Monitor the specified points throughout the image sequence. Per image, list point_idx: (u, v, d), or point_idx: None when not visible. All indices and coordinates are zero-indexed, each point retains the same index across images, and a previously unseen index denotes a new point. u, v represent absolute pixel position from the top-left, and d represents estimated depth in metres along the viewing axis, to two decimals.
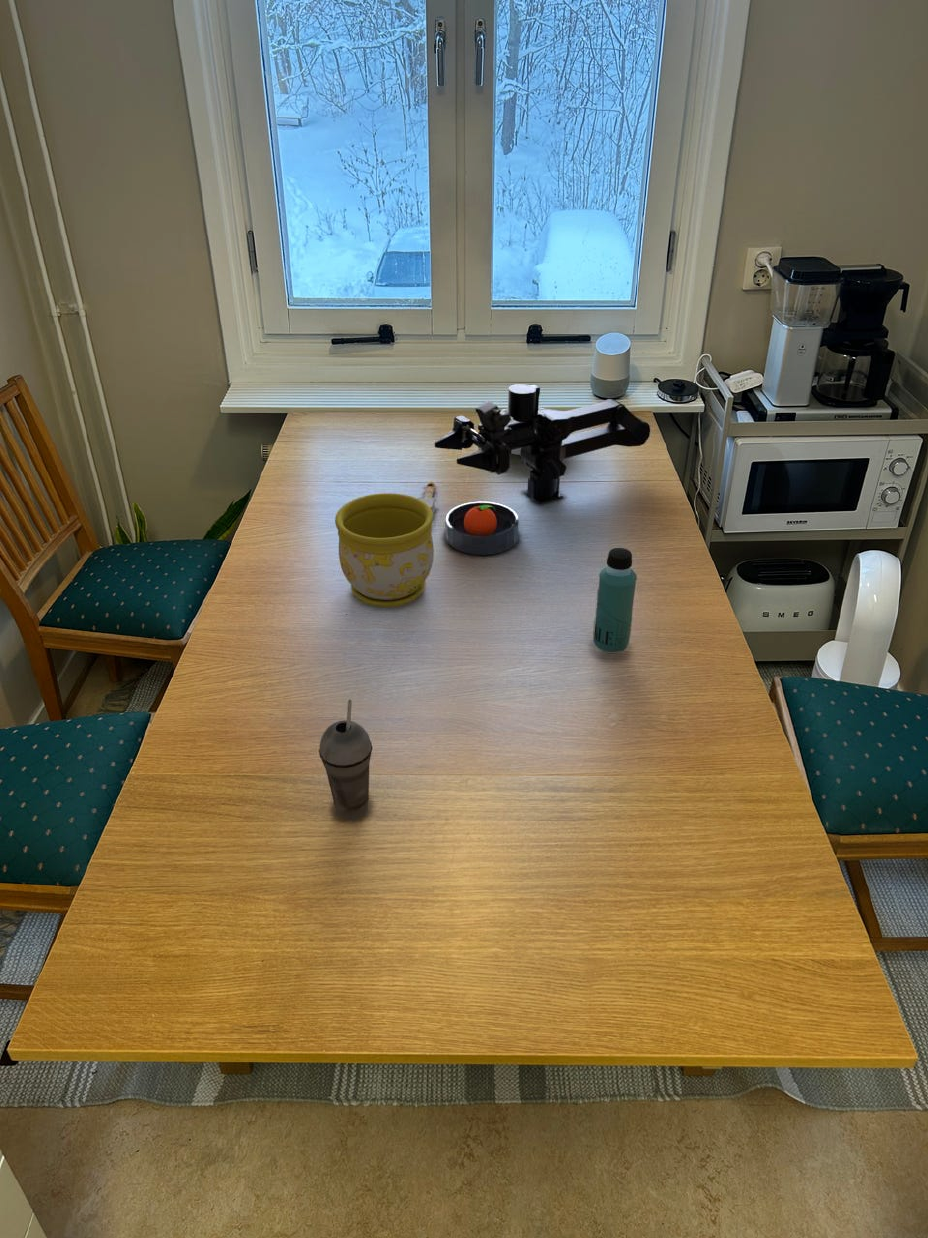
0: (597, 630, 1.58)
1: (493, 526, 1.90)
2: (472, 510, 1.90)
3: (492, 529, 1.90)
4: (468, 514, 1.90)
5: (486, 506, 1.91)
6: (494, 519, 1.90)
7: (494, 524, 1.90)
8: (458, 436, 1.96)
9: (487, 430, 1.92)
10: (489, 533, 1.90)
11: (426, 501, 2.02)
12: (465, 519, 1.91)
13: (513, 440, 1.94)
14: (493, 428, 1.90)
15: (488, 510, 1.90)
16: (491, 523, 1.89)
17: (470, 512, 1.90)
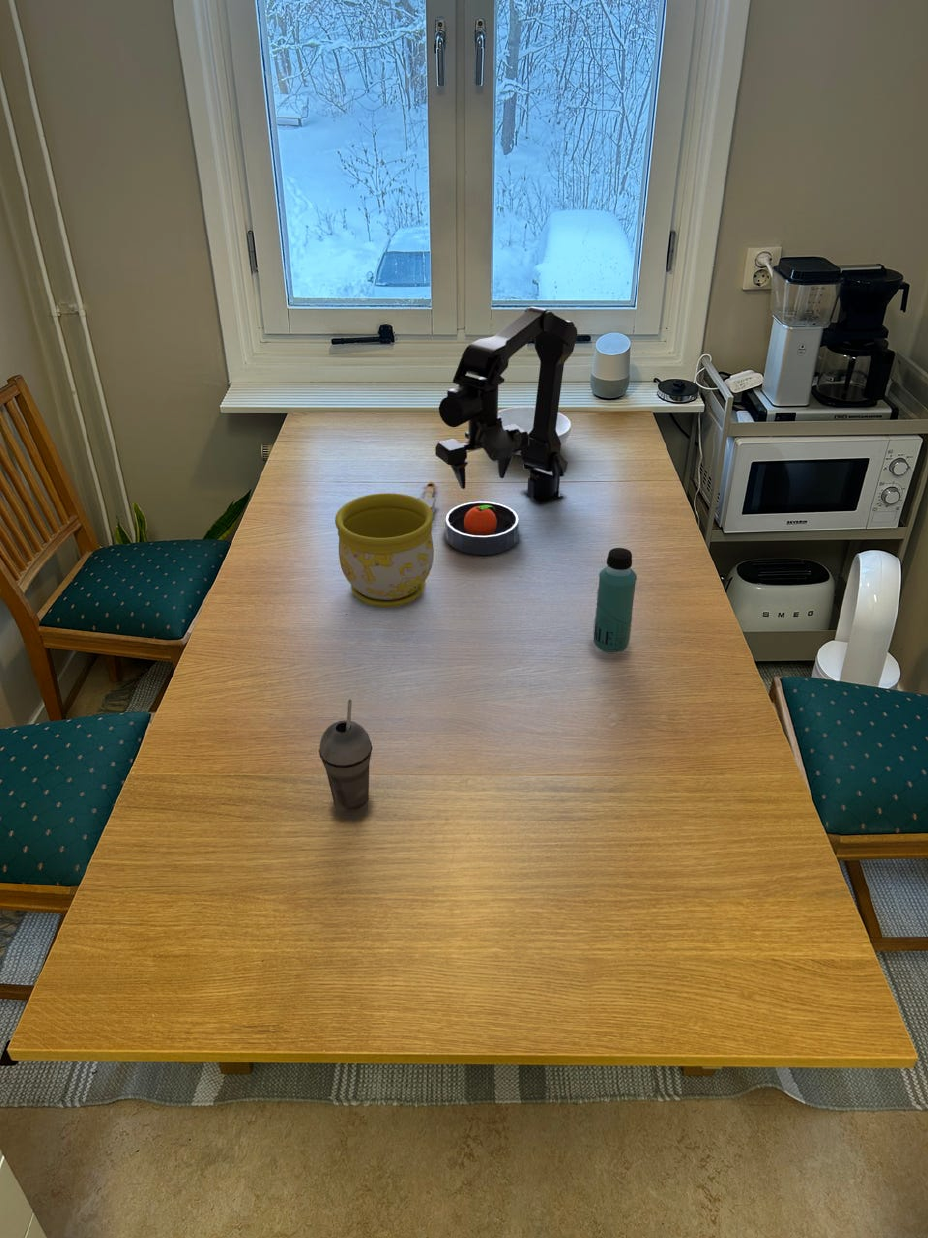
0: (597, 630, 1.58)
1: (493, 526, 1.90)
2: (472, 510, 1.90)
3: (492, 529, 1.90)
4: (468, 514, 1.90)
5: (486, 506, 1.91)
6: (494, 519, 1.90)
7: (494, 524, 1.90)
8: None
9: None
10: (489, 533, 1.90)
11: (426, 501, 2.02)
12: (465, 519, 1.91)
13: None
14: None
15: (488, 510, 1.90)
16: (491, 523, 1.89)
17: (470, 512, 1.90)
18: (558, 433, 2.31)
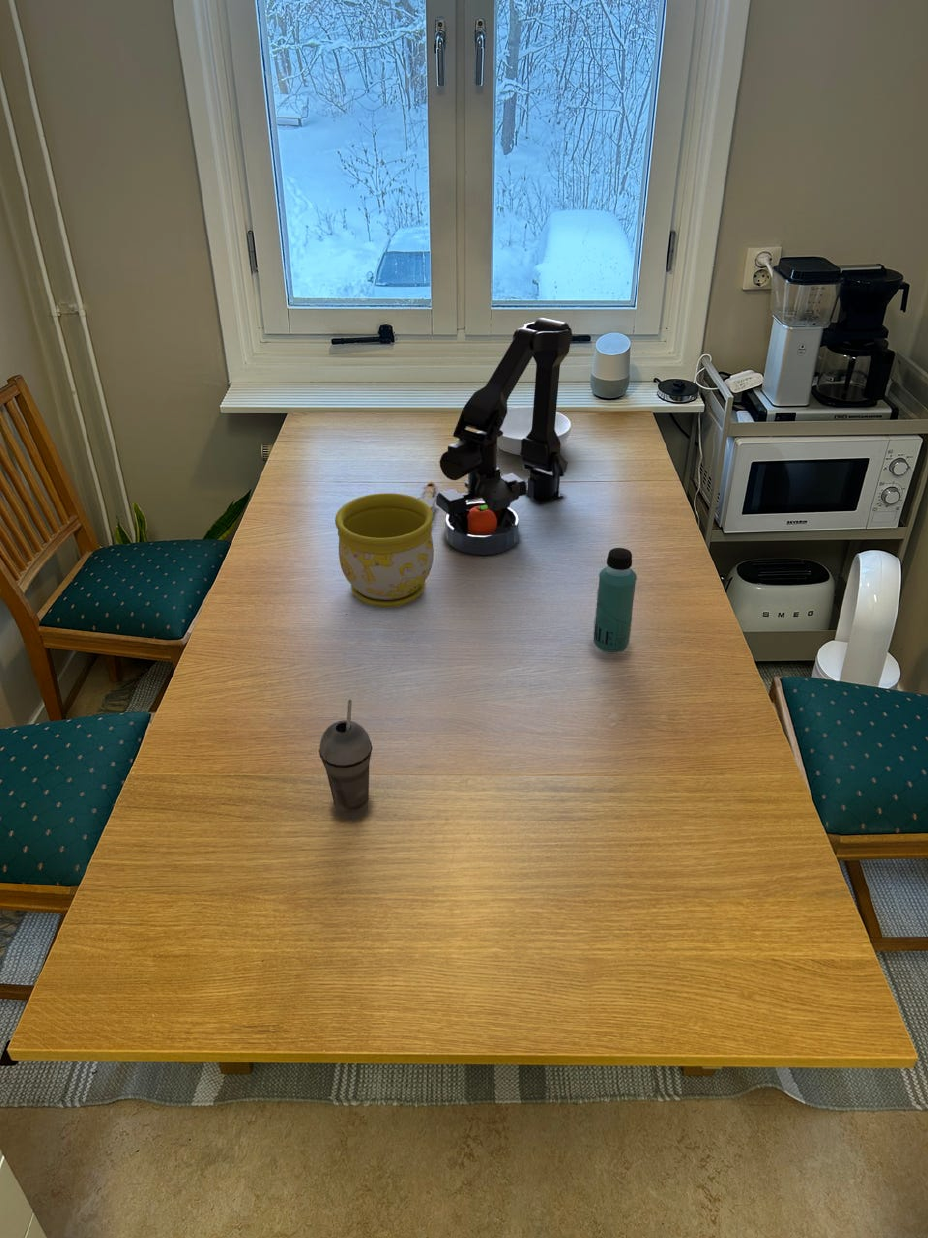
0: (597, 630, 1.58)
1: (493, 526, 1.90)
2: (472, 510, 1.90)
3: (492, 529, 1.90)
4: (468, 514, 1.90)
5: (486, 506, 1.91)
6: (494, 519, 1.90)
7: (494, 524, 1.90)
8: None
9: None
10: (489, 533, 1.90)
11: (426, 501, 2.02)
12: None
13: None
14: None
15: (488, 510, 1.90)
16: (491, 523, 1.89)
17: (470, 512, 1.90)
18: (558, 433, 2.31)
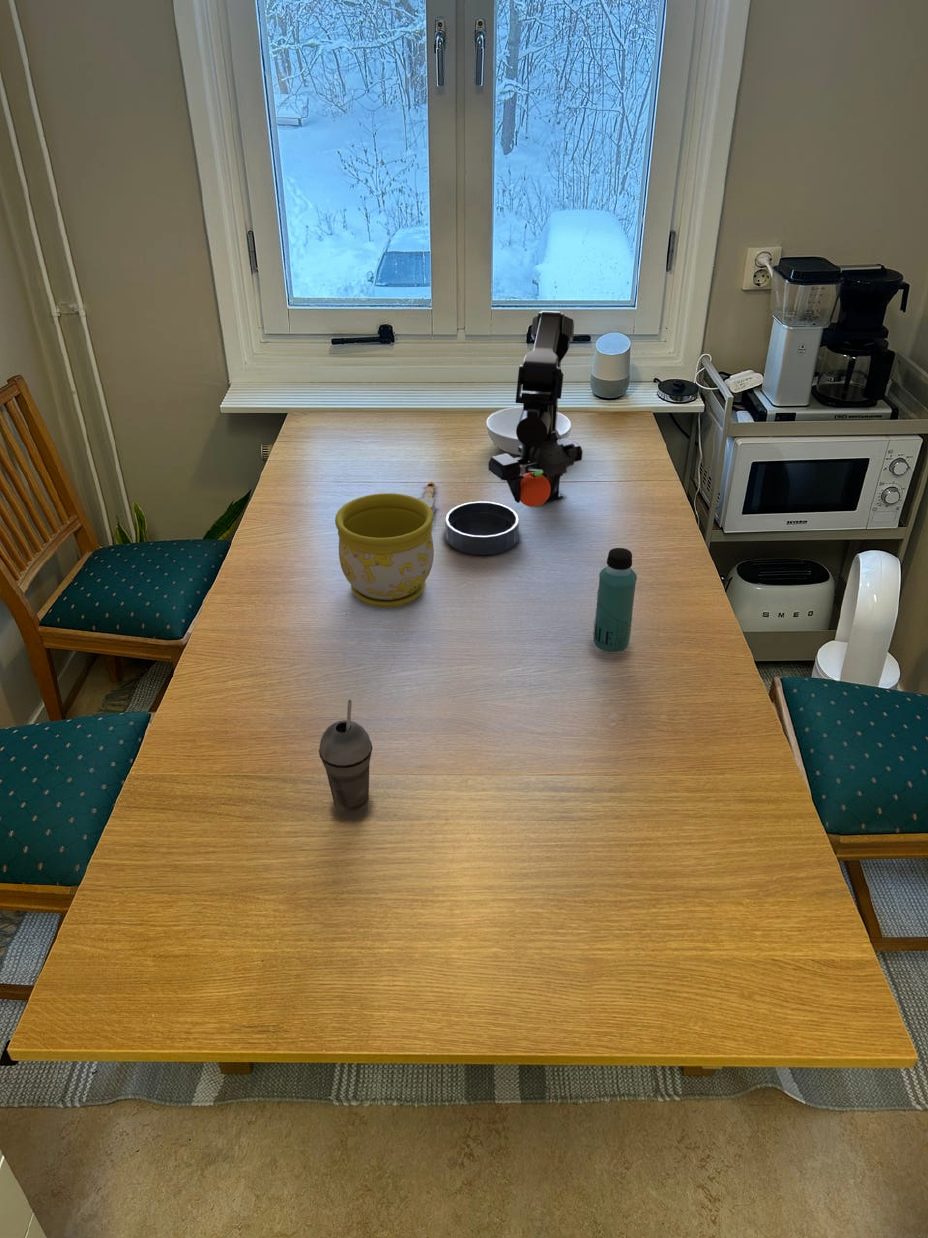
0: (597, 630, 1.58)
1: (547, 493, 1.82)
2: (525, 476, 1.82)
3: (546, 496, 1.82)
4: None
5: (540, 472, 1.83)
6: (548, 486, 1.82)
7: (548, 491, 1.82)
8: None
9: None
10: (543, 500, 1.82)
11: (426, 501, 2.02)
12: None
13: None
14: None
15: (542, 476, 1.82)
16: (545, 490, 1.81)
17: None
18: None
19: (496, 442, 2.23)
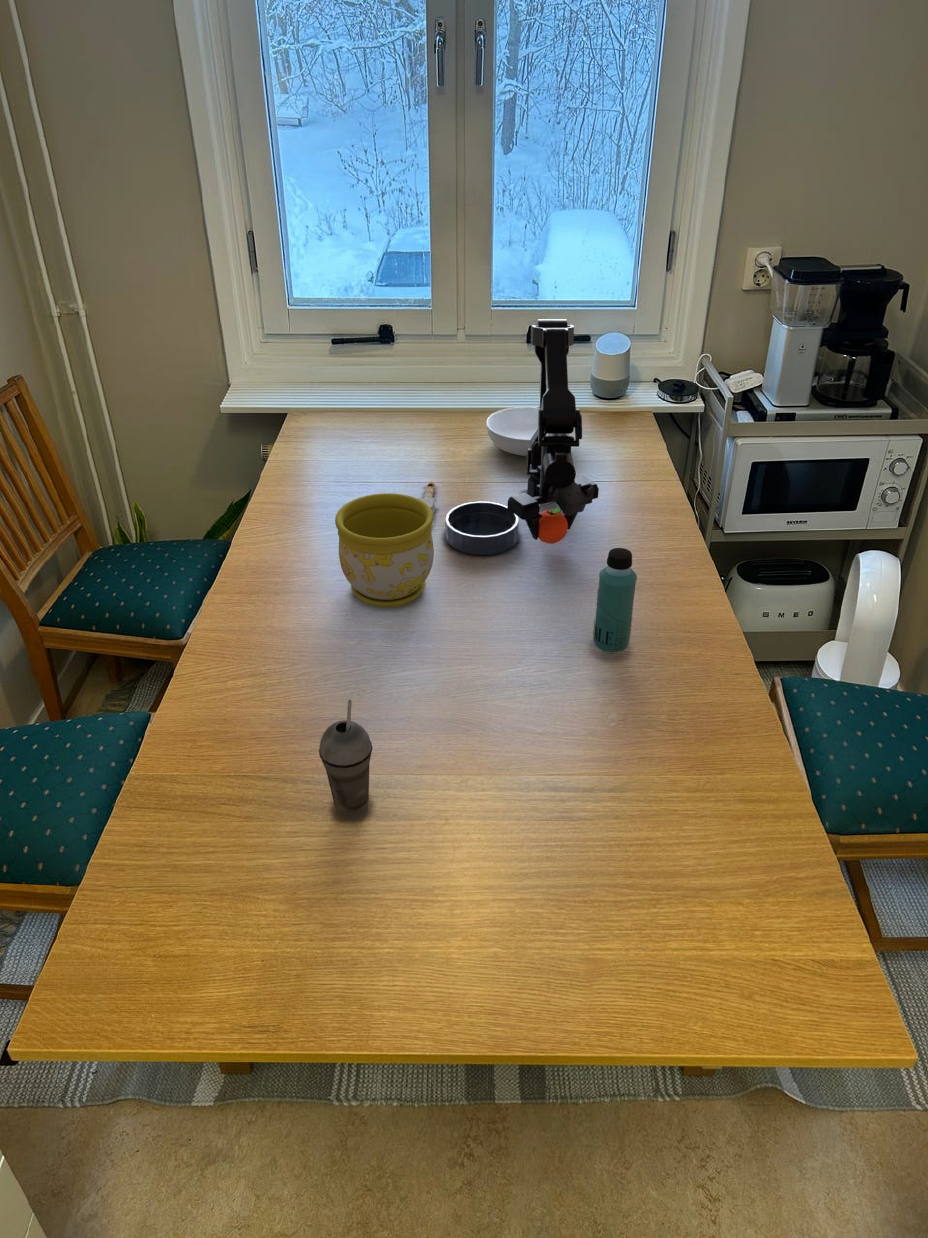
0: (597, 630, 1.58)
1: (565, 530, 1.86)
2: (543, 514, 1.86)
3: (564, 533, 1.86)
4: None
5: (557, 510, 1.86)
6: (566, 523, 1.86)
7: (566, 528, 1.86)
8: None
9: None
10: (560, 537, 1.86)
11: (426, 501, 2.02)
12: None
13: None
14: None
15: (560, 514, 1.86)
16: (563, 527, 1.85)
17: None
18: None
19: (496, 442, 2.23)
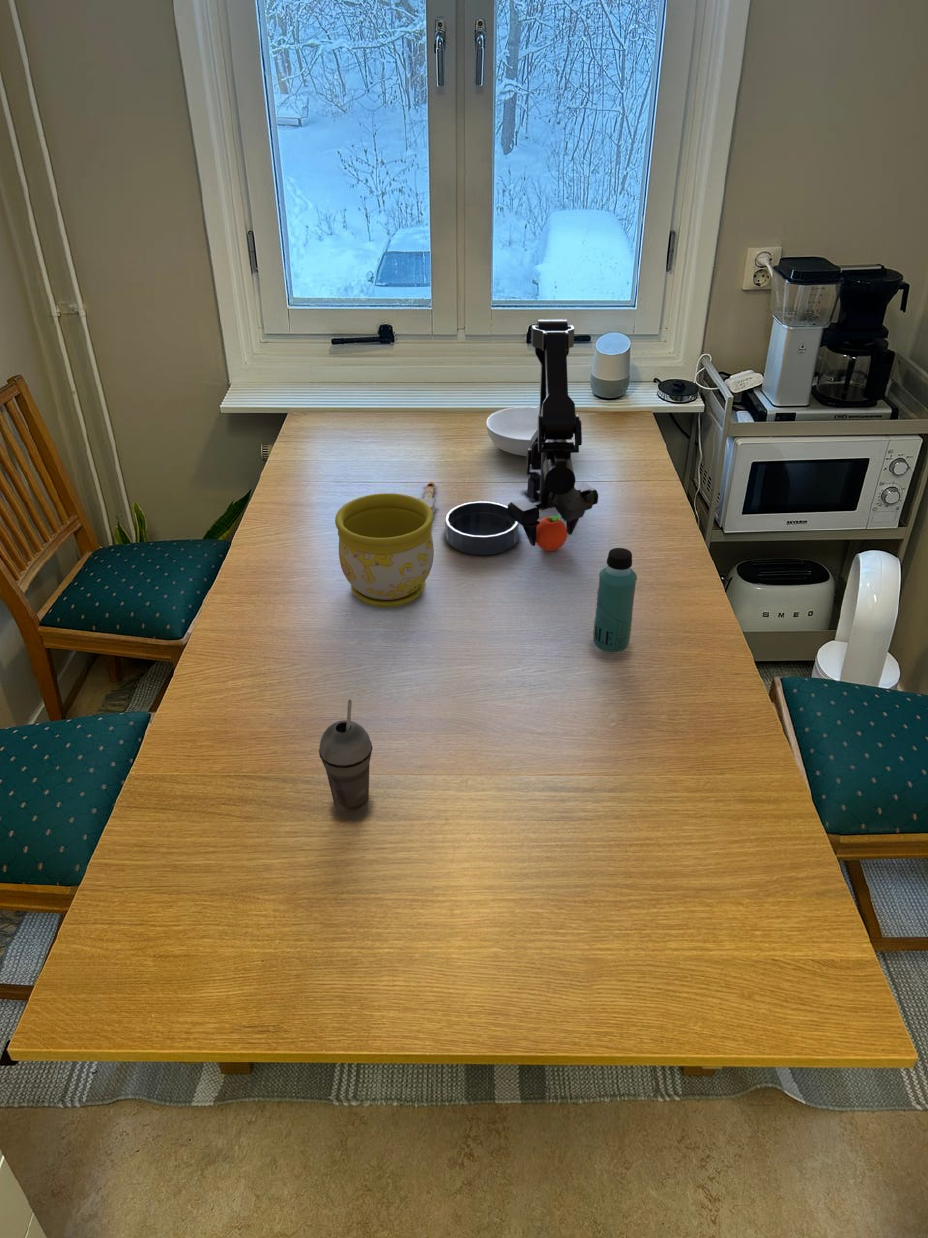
0: (597, 630, 1.58)
1: (564, 537, 1.87)
2: (543, 521, 1.87)
3: (563, 540, 1.87)
4: (539, 525, 1.87)
5: (557, 517, 1.88)
6: (565, 530, 1.87)
7: (565, 535, 1.87)
8: None
9: None
10: (560, 544, 1.87)
11: (426, 501, 2.02)
12: None
13: None
14: None
15: (559, 521, 1.87)
16: (562, 534, 1.86)
17: (541, 523, 1.87)
18: None
19: (496, 442, 2.23)
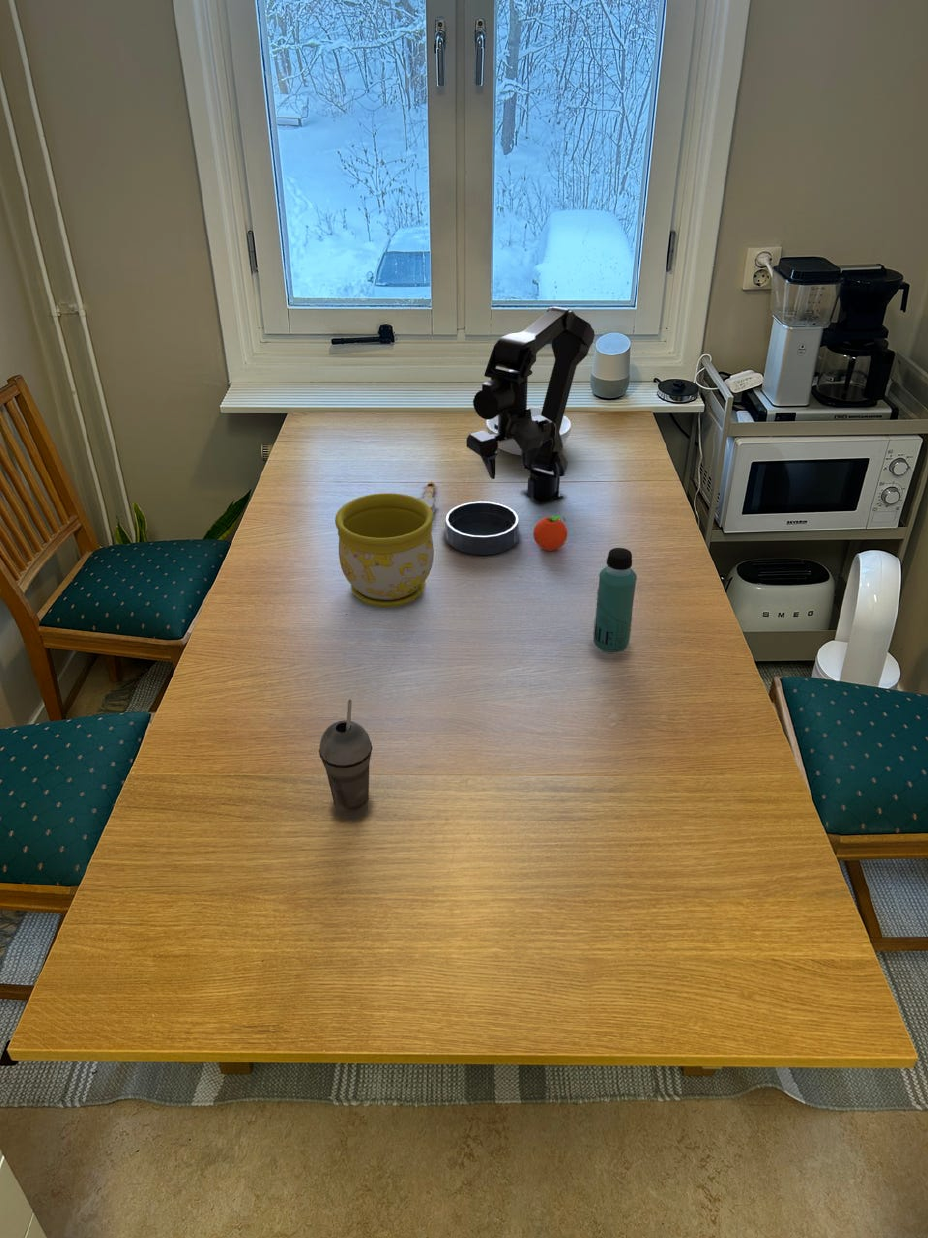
0: (597, 630, 1.58)
1: (564, 537, 1.87)
2: (543, 521, 1.87)
3: (563, 540, 1.87)
4: (539, 525, 1.87)
5: (557, 517, 1.88)
6: (565, 530, 1.87)
7: (565, 535, 1.87)
8: None
9: None
10: (560, 544, 1.87)
11: (426, 501, 2.02)
12: (535, 530, 1.87)
13: None
14: None
15: (559, 521, 1.87)
16: (562, 534, 1.86)
17: (541, 523, 1.87)
18: None
19: None
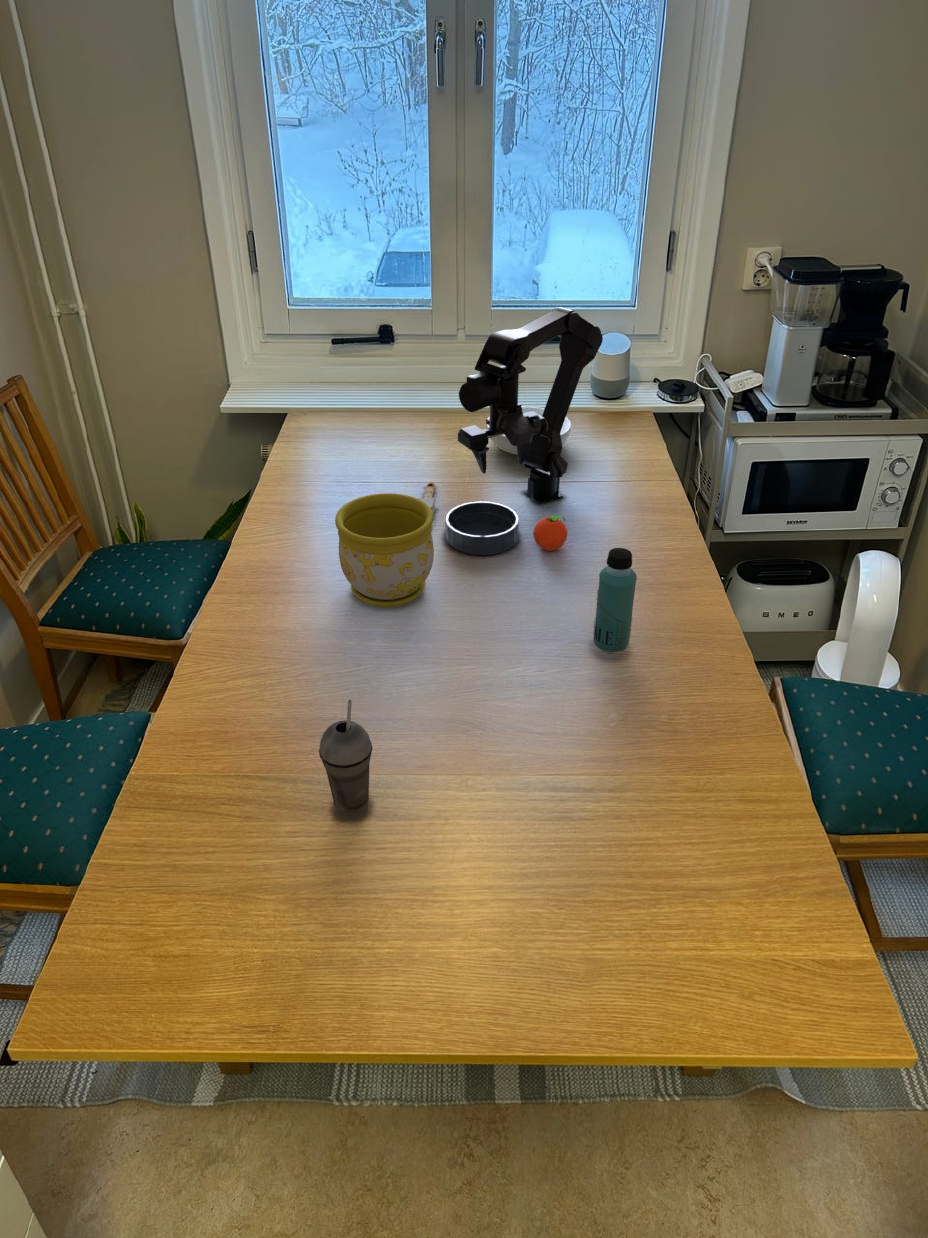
0: (597, 630, 1.58)
1: (564, 537, 1.87)
2: (543, 521, 1.87)
3: (563, 540, 1.87)
4: (539, 525, 1.87)
5: (557, 517, 1.88)
6: (565, 530, 1.87)
7: (565, 535, 1.87)
8: None
9: None
10: (560, 544, 1.87)
11: (426, 501, 2.02)
12: (535, 530, 1.87)
13: None
14: None
15: (559, 521, 1.87)
16: (562, 534, 1.86)
17: (541, 523, 1.87)
18: None
19: (496, 442, 2.23)
